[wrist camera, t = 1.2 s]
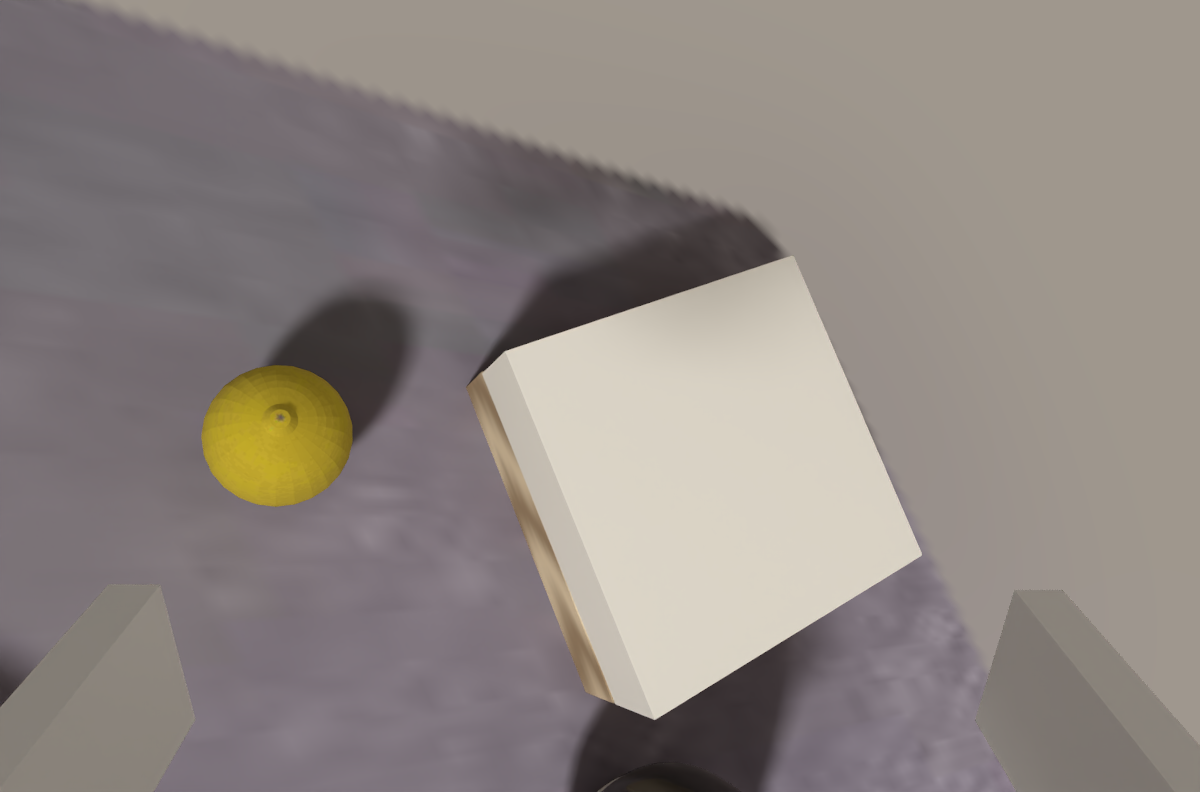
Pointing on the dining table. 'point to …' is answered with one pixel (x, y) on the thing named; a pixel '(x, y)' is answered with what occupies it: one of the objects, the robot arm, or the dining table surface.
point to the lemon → (277, 435)
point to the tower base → (538, 542)
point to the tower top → (700, 479)
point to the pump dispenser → (669, 780)
